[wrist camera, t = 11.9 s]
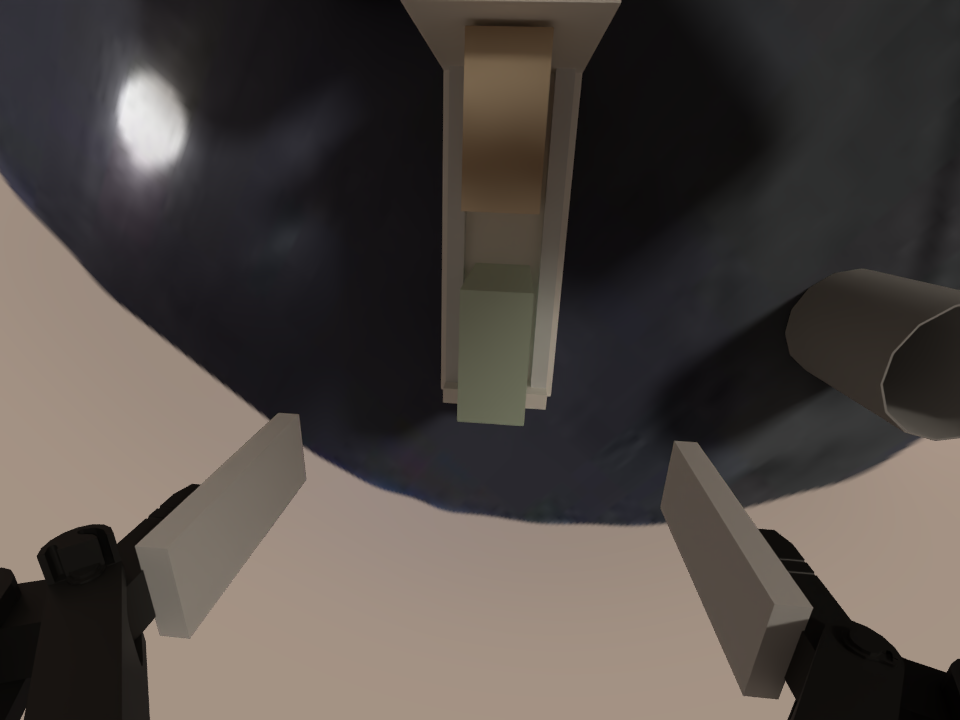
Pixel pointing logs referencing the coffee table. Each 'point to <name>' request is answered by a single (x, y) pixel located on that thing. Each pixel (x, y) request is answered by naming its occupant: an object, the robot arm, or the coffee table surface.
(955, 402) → the cup
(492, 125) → the oak panel
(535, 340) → the track
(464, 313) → the green panel
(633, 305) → the coffee table surface
